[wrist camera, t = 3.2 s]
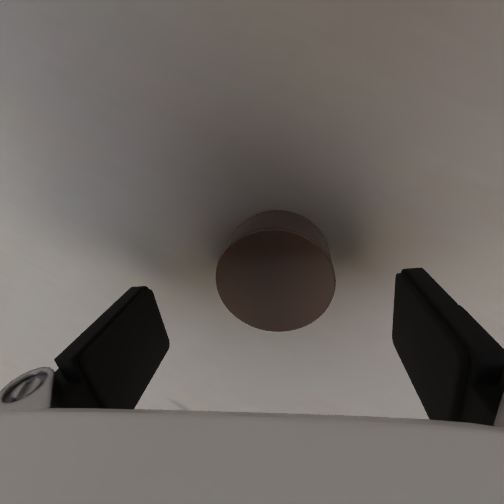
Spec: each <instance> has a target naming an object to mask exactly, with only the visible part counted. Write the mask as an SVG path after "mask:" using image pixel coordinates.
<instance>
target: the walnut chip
mask: <svg viewBox="0 0 504 504" xmlns="http://www.w3.org/2000/svg"><path fill="white" fill-rule="evenodd" d="M335 283H336V279H335V272H334V269H333V265H332V261H331V258H330V254H329V251H328V247H327V244H326V241H325V239H324V237H323V235H322V234H321V232H320V231H319V230H318V229H317V227H316V226H315V225H313V224H312V223H311V222H310V221H308V220H307V219H305V218H304V217H302V216H300V215H297V214H294V213H291V212H286V211H268V212H263V213H260V214H257V215H255V216H253V217H251V218H249V219H247V220H246V221H245V222H243V223H242V224H241V225H240V226H239V227H238V228H237V230H236V231H235V233H234V234H233V236H232V238H231V239H230V241H229V243H228V244H227V246H226V248H225V250H224V251H223V253H222V255H221V257H220V259H219V261H218V265H217V269H216V285H217V289H218V292H219V295H220V297H221V299H222V301H223V303H224V304H225V306H226V307H227V308H228V310H229V311H230V312H231V313H232V314H233V315H234V316H236V317H237V318H238V319H240V320H241V321H243V322H244V323H246V324H248V325H250V326H252V327H255V328H258V329H262V330H266V331H278V332H281V331H290V330H295V329H298V328H302V327H304V326H306V325H308V324H310V323H312V322H313V321H315V320H316V319H317V318H319V317H320V316H321V315H322V314H323V313H324V312H325V310H326V309H327V308H328V306H329V304H330V302H331V301H332V298H333V295H334V291H335Z"/></svg>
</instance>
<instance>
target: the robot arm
mask: <svg viewBox="0 0 504 504" xmlns="http://www.w3.org/2000/svg"><path fill="white" fill-rule="evenodd" d="M392 339H393V343H394V346H395V348H396V350H397V353H398V355H399V357H400V359H401V361H402V363H403V365H404V367H405V369H406V371H407V373H408V375H409V377H410V379H411V382H412V384H413V386H414V388H415V390H416V392H417V394H418V396H419V398H420V400H421V402H422V404H423V406H424V409H425V411H426V413H427V415H428V417H429V419H430V420H429V419H410V418H390V417H370V416H344V415H315V414H286V413H255V412H221V411H185V410H144V409H134V408H135V406H136V404H137V403H138V401H139V399H140V398H141V396H142V394H143V392H144V391H145V389H146V387H147V386H148V384H149V382H150V380H151V379H152V377H153V375H154V373H155V372H156V370H157V368H158V367H159V365H160V363H161V361H162V360H163V358H164V356H165V354H166V353H167V351H168V349H169V338H168V336H167V333H166V330H165V327H164V324H163V321H162V318H161V315H160V312H159V309H158V306H157V303H156V300H155V297H154V294H153V292H152V290H150V289H149V288H148V287H146V286H140V287H131V288H130V289H129V290H128V291H127V292H126V293H124V294H123V295H122V296H121V297H120V298H119V299H118V300H117V301H116V302H115V303H114V304H113V305H112V306H111V307H110V308H109V309H107V310H106V311H105V312H104V313H103V314H102V315H101V316H100V317H99V318H98V319H97V320H96V321H95V322H94V323H93V324H92V325H90V326H89V327H88V328H87V329H86V330H85V331H84V332H83V333H82V334H81V335H80V336H79V337H78V338H77V339H76V340H75V341H73V342H72V343H71V344H70V345H69V346H68V347H67V348H66V349H65V350H64V351H63V352H62V353H61V354H60V355H59V356H57V357H56V358H55V359H54V360H55V362H56V364H57V366H58V367H59V369H58V370H57V371H56V372H54V371H53V369H51V368H50V367H41V368H36V369H34V370H31V371H28V372H26V373H24V374H22V375H20V376H19V377H17V378H16V379H14V380H13V381H11V382H10V383H9V384H7V385H6V386H5V387H4V388H3V389H2V390H1V391H0V504H504V349H503V348H502V347H501V346H500V345H499V344H498V343H497V342H496V341H495V340H494V339H493V338H492V337H491V336H490V335H489V334H488V333H487V332H486V331H485V330H484V329H483V328H482V326H481V325H480V324H479V323H478V322H477V321H476V320H475V319H474V318H473V317H472V316H471V315H470V314H469V313H468V312H467V311H466V310H465V309H464V308H463V307H461V306H460V305H458V304H457V303H456V302H455V301H454V300H453V299H452V298H451V297H450V296H449V295H448V294H447V293H446V292H445V291H444V290H443V289H442V288H441V286H440V285H439V284H438V283H437V282H436V281H435V280H434V279H433V278H432V277H431V276H430V275H429V274H428V273H427V272H426V271H425V270H424V269H423V268H410V269H403V270H402V271H401V273H397V274H396V280H395V296H394V313H393V330H392Z"/></svg>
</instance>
